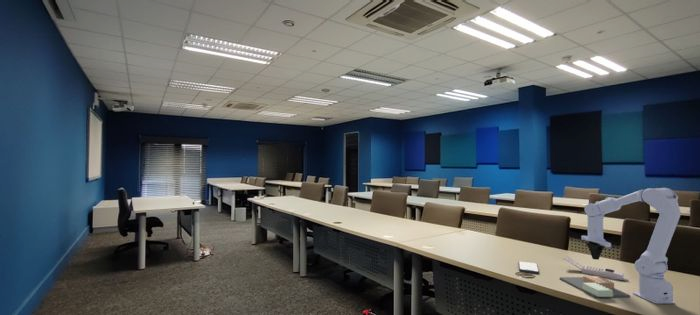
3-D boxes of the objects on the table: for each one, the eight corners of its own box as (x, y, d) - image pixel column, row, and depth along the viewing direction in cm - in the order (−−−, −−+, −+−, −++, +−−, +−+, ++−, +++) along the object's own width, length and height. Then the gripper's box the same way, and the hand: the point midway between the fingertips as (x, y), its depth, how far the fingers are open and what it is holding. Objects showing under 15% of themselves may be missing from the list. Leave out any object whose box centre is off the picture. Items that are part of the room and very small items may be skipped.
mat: (629, 297, 126) (629, 295, 126) (594, 297, 126) (594, 295, 126) (589, 278, 146) (589, 277, 146) (559, 279, 146) (559, 277, 146)
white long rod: (565, 255, 164) (629, 266, 147) (565, 267, 164) (629, 279, 146) (562, 258, 160) (628, 269, 142) (562, 269, 159) (628, 282, 142)
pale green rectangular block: (612, 296, 124) (612, 290, 124) (598, 296, 124) (598, 290, 124) (596, 288, 132) (596, 282, 132) (582, 288, 132) (582, 282, 132)
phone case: (518, 263, 170) (518, 272, 155) (518, 260, 170) (518, 269, 156) (537, 266, 166) (539, 275, 151) (537, 263, 166) (539, 271, 152)
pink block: (614, 288, 132) (614, 282, 132) (598, 289, 132) (598, 282, 132) (598, 281, 140) (598, 275, 140) (583, 281, 140) (583, 275, 140)
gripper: (617, 233, 139) (617, 264, 138) (591, 226, 153) (591, 254, 153) (602, 233, 138) (602, 264, 138) (577, 226, 153) (577, 254, 152)
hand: (595, 259), depth 145 cm, fingers closed
